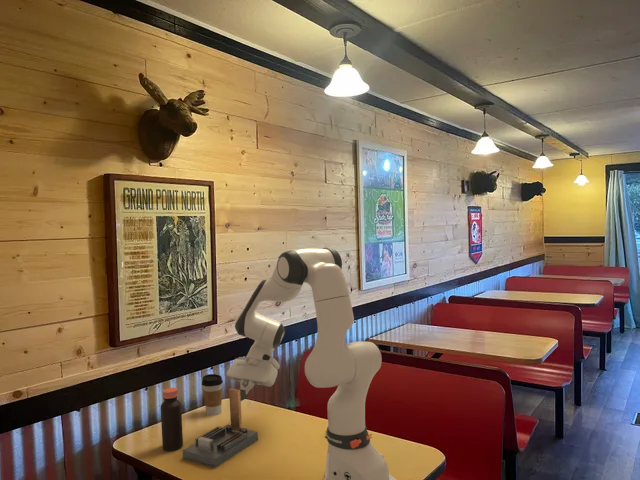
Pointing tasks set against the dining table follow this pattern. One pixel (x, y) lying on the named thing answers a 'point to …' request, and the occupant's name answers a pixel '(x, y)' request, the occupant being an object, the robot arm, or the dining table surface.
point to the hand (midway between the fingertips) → (242, 393)
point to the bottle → (171, 420)
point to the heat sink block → (219, 445)
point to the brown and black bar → (236, 407)
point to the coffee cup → (212, 393)
